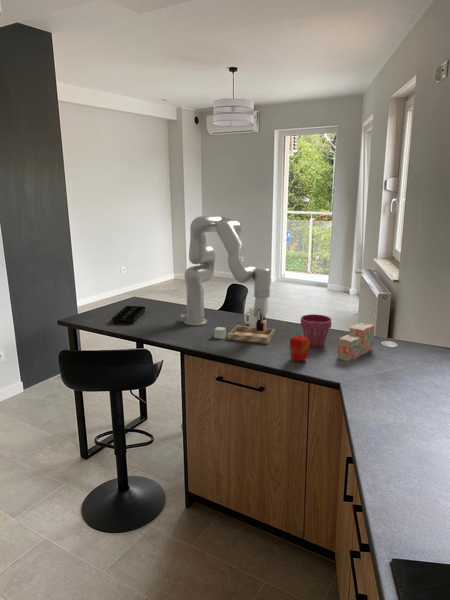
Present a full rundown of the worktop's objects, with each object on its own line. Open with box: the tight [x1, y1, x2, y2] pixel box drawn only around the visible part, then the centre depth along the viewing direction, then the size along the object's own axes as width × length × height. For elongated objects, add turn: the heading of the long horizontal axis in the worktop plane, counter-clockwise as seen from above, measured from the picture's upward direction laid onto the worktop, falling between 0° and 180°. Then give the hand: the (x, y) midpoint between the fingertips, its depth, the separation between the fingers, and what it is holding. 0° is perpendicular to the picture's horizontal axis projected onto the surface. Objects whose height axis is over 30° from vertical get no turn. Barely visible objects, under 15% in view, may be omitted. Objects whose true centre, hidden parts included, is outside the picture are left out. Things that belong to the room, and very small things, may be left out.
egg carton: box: [111, 305, 147, 326], centre depth 245 cm, size 18×30×4 cm, turn 9°
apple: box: [289, 333, 310, 362], centre depth 182 cm, size 9×8×12 cm
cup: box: [243, 305, 257, 327], centre depth 231 cm, size 8×12×10 cm
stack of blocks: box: [336, 322, 375, 362], centre depth 191 cm, size 21×6×12 cm, turn 136°
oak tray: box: [227, 325, 276, 345], centre depth 213 cm, size 20×15×3 cm
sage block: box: [213, 326, 227, 340], centre depth 213 cm, size 4×4×4 cm
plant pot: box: [300, 313, 332, 348], centre depth 203 cm, size 14×14×13 cm
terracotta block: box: [256, 320, 268, 332], centre depth 210 cm, size 4×4×4 cm
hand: (261, 329), depth 211 cm, fingers closed on terracotta block, 4 cm apart
